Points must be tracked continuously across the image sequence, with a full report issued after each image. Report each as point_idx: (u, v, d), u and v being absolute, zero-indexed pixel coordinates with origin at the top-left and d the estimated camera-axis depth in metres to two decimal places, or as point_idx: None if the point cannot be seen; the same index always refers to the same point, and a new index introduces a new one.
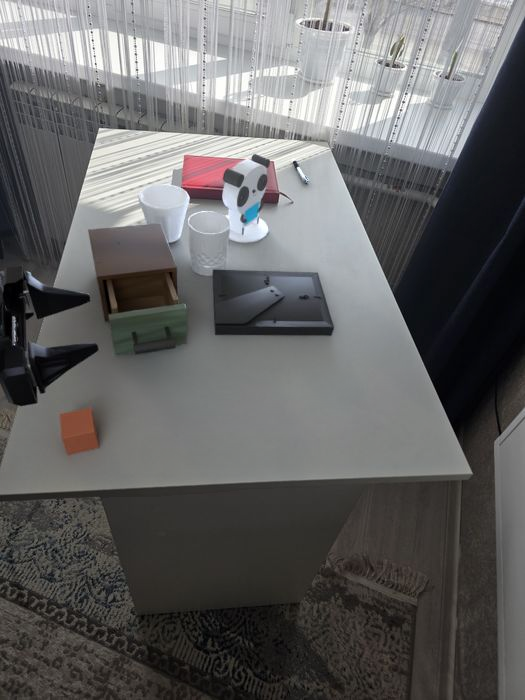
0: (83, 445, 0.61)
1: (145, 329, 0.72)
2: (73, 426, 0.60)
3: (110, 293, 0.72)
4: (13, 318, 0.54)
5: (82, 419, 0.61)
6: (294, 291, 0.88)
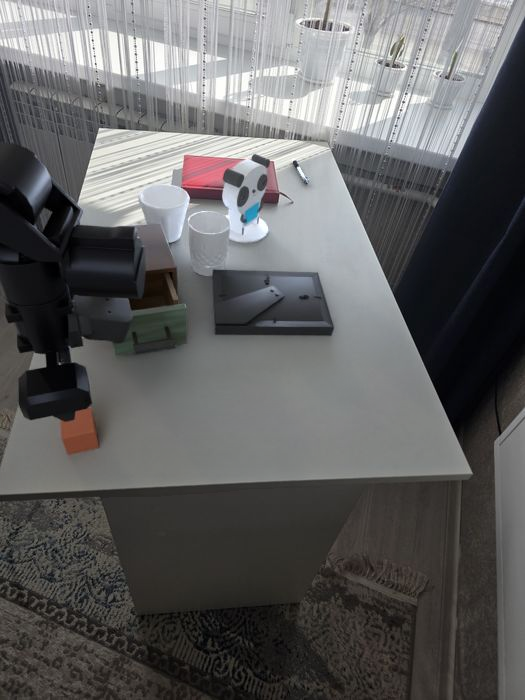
0: (83, 445, 0.61)
1: (145, 329, 0.72)
2: (73, 426, 0.60)
3: None
4: None
5: (82, 419, 0.61)
6: (294, 291, 0.88)
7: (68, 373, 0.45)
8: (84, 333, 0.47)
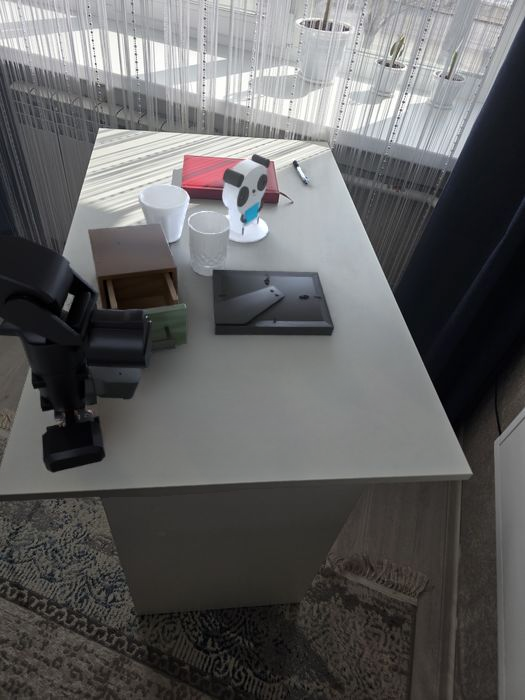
0: None
1: None
2: None
3: (110, 293, 0.72)
4: None
5: None
6: (294, 291, 0.88)
7: (85, 431, 0.52)
8: (98, 394, 0.54)
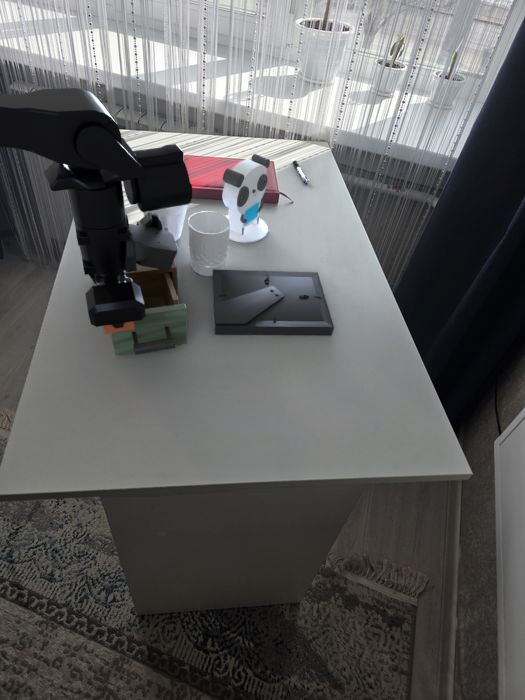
0: None
1: (145, 329, 0.72)
2: None
3: None
4: None
5: None
6: (294, 291, 0.88)
7: (127, 289, 0.54)
8: (138, 259, 0.56)
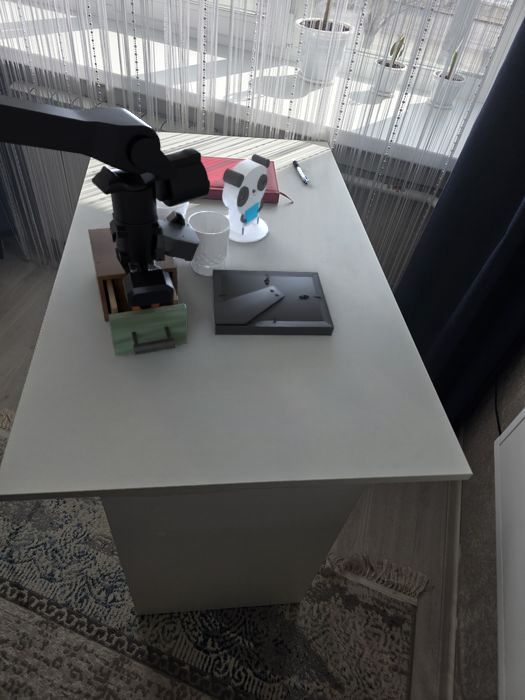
0: None
1: (145, 329, 0.72)
2: None
3: (110, 293, 0.72)
4: None
5: None
6: (294, 291, 0.88)
7: (158, 275, 0.63)
8: (166, 250, 0.66)
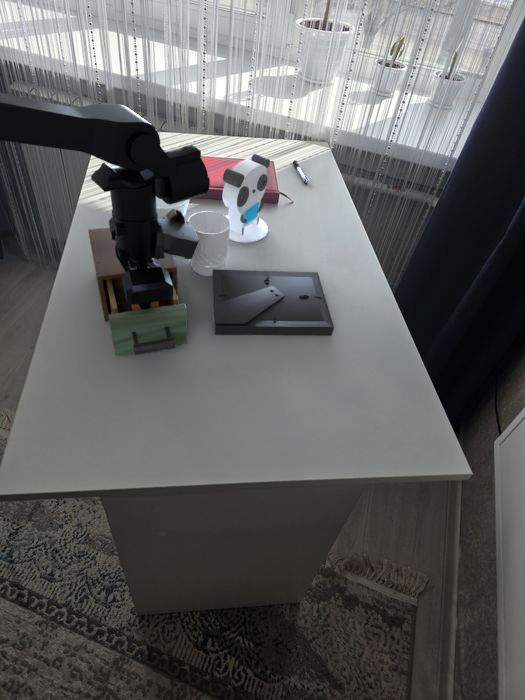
0: None
1: (145, 329, 0.72)
2: None
3: (110, 293, 0.72)
4: None
5: None
6: (294, 291, 0.88)
7: (158, 273, 0.63)
8: (166, 247, 0.65)
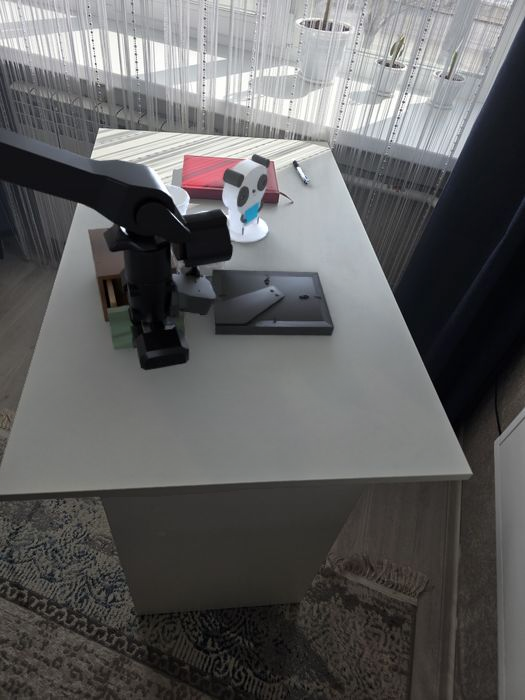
0: None
1: None
2: None
3: (109, 287, 0.73)
4: None
5: None
6: (294, 291, 0.88)
7: (173, 335, 0.59)
8: (181, 306, 0.62)
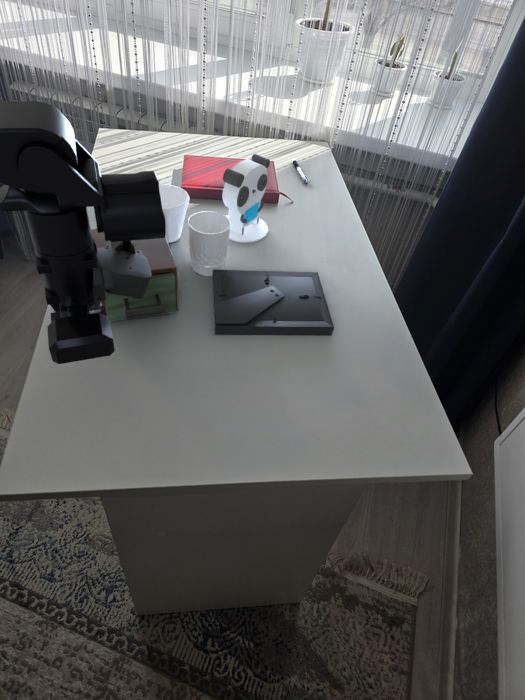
0: None
1: None
2: None
3: None
4: None
5: None
6: (294, 291, 0.88)
7: (93, 321, 0.48)
8: (107, 287, 0.51)
